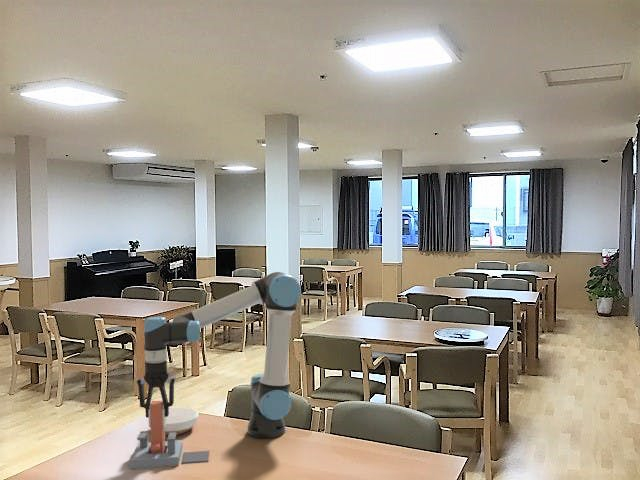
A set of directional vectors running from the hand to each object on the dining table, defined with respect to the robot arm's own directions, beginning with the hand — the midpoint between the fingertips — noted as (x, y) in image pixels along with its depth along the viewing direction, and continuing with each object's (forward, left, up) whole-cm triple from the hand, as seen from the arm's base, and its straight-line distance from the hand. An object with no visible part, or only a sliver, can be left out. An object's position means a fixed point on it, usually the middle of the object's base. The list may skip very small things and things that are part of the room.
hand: (157, 425), depth 204 cm
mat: (-13, +2, -12) cm, 18 cm away
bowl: (-3, -28, -12) cm, 31 cm away
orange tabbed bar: (0, 0, -10) cm, 10 cm away
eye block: (0, 0, -12) cm, 12 cm away
